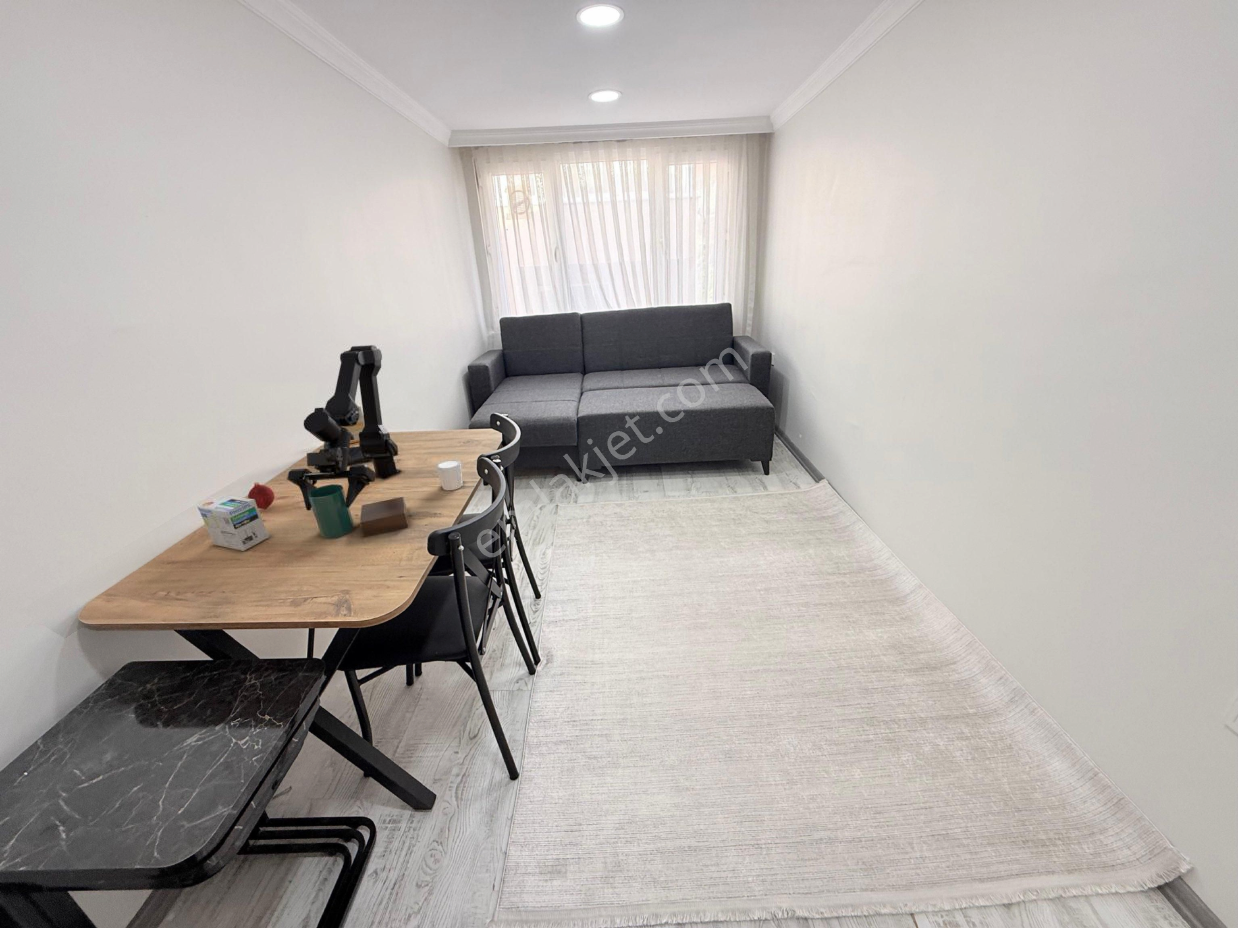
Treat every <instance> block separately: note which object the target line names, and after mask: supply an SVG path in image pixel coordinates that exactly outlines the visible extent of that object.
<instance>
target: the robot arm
mask: <svg viewBox="0 0 1238 928" xmlns="http://www.w3.org/2000/svg"><path fill="white" fill-rule="evenodd" d="M339 360H340V366H339V371H338V374H337V380H336V385H335V390H334V393H333V395H332V396H331V397H330V398H329V399H328V400H326V403H325V406H324V407H314V411H312V412H310V414H308V415H307V416H306V417H305V419H304V420H303V428H304V429H305V430H306V431H307V432H308V433H310V434H311V435H312V436H314V437H315V438H316V439H318V440H319V441H320V442H323V447H322V448H321V449H320V448H319V450H318V452H317V451H316V452H306V466H307V467H313V469H315V470H316V472H313V471H311V470H310V469H308V468H306V467H303V468H291V469H290V470H289V471H288V473H287V476H286V480H287V481H289V482H291V483H292V484H293V485H295V486H297V487H299V490H300V491H301V494H302V498H303V502H304V506H305V509H306V511H307V512H310V511H311V510H312V506H311V503H310V500H309V497H308V494H309V492H311V491H312V490H314V489H316V488H318V487H317V486H316V484H318V483H317V482H318V481H329V480H344V479H347V491H346V507H347V508H349V509H350V507H351V506H352V504H353V503H354V502H355V501H356V499H357V497H358V496H359V495H360V494H361V492H362V491H363V490H364V489H365V488H366V486H370V483H375V482H376V478H377V479H381V480H386V479H389V478H391V477H393V476H396V475H398V474H401V472H402V470H401V469H398V468H397V466H396V465H397V464H396V462H395V459H394V458H395V457H397V456H399V448H398V447H399V446H398V445H397V444H396V442H394V440H393V439H391V436H390V431H388V429H387V428H386V427H385V426H384V425H383V424H384V423H383V419H382V411H381V401H380V393H379V386H378V385H379V384H378V377H377V376H378V374H379V372H380V371H381V369H382V360H383V354H382V351H381V349H380V348H378V347H377V346H376V345H374V344H370V345H369V344H368V345H353V346H351V347H350V348H349V350H344V351H343V352H341V353H340V354H339ZM358 386H359V392H360V399H361V409H362V413H363V416H364V425H365V426H364V428H363V430H362V432H359V440H360V442H358V446H359V448H360V450H361V452H362V454H363V456H364V458H365V459H372V460H371V462H372V465H373V469H374V470H373V469H372V468H370V467H369V465H367V464H366V463H365V464H350V466H349V468H348V465H347V463H348V461H351V457H350V456H349V448H350V447H351V444H350V440H354V436H353V435H352V434H351V432H350V430H347V429H346V428H344V427H346V426H354V425H356V424H357V422H358V420H359V408H358V406H357V405H356V404H357V403H356V396H357V392H358V391H357V390H358ZM317 471H318V472H317Z"/></svg>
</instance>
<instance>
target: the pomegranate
mask: <svg viewBox="0 0 1238 928" xmlns="http://www.w3.org/2000/svg"><path fill="white" fill-rule="evenodd" d="M247 498H249V499H255V502H256V504H257V507H258V509H262V510H266V509H268V508H269V507H270V506H271V505H272V504H273V503H274V500H275V492H274V491H273V489H272V488H270V487H269V486H267V485H265V484H260V483H259V482H258V481H254V484H253V487H252V488H250V490H249V492H248V494H247Z"/></svg>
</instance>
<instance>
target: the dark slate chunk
mask: <svg viewBox="0 0 1238 928" xmlns="http://www.w3.org/2000/svg"><path fill="white" fill-rule="evenodd" d="M349 456H350V457H351V461H348V463H347V466H348V465H353V464H357V463H362V462H366V461H372V459H365V458H364V456H363V454H362V452H361V450H360V448H359V445H358V446H350V448H349Z"/></svg>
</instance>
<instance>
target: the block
mask: <svg viewBox="0 0 1238 928" xmlns="http://www.w3.org/2000/svg"><path fill="white" fill-rule="evenodd" d="M359 524H360V529H361V531H362V534H363V538H367V537H370V536H375V535H379V534H384V533H388V532H391V531H398V530H401V529H406V528H409V522H408V510H407V505H406V501H405V497H404V496H401V497H396V498H390V499H386V500H380V501H376V502H371V503H365V504H362V505H361V510H360V520H359Z"/></svg>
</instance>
